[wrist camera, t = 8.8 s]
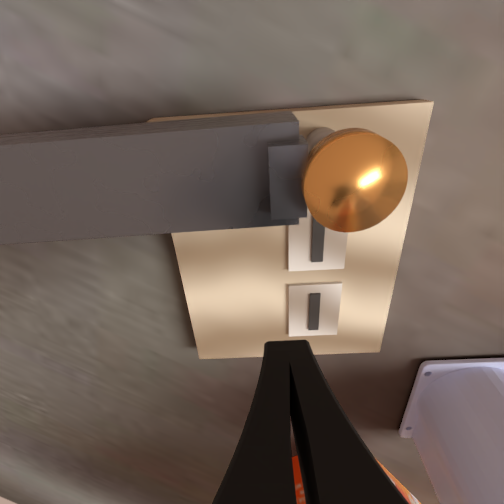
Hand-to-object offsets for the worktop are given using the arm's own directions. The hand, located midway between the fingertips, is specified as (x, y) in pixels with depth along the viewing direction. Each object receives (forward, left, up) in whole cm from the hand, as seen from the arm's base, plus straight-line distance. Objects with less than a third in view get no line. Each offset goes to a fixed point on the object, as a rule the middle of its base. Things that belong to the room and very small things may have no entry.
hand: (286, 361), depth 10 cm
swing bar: (+5, +4, -6) cm, 8 cm away
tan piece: (-1, -1, -8) cm, 8 cm away
